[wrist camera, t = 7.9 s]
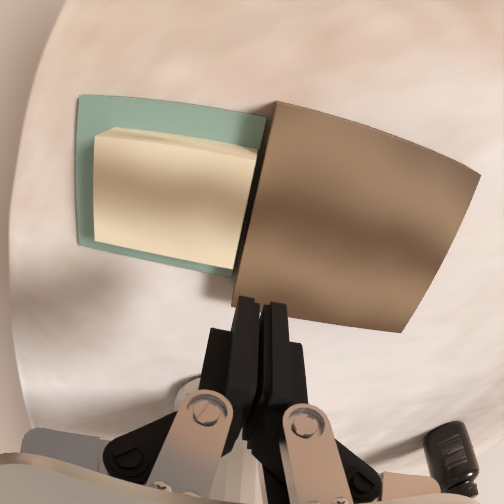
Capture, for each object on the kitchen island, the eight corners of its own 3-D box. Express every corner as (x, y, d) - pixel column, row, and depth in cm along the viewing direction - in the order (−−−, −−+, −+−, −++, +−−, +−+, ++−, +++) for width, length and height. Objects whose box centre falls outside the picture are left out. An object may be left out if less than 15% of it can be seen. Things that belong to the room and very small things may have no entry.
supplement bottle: (412, 445, 35) (427, 516, 25) (438, 422, 32) (459, 499, 22) (446, 440, 36) (463, 504, 25) (472, 417, 32) (495, 486, 22)
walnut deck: (393, 314, 22) (401, 333, 20) (233, 287, 21) (231, 306, 20) (464, 164, 16) (481, 175, 14) (276, 100, 15) (277, 103, 13)
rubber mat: (232, 274, 21) (231, 277, 20) (81, 241, 20) (78, 244, 20) (266, 117, 16) (266, 118, 15) (82, 94, 15) (79, 95, 15)
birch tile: (236, 246, 19) (232, 269, 17) (111, 221, 19) (94, 240, 17) (257, 148, 16) (256, 160, 14) (115, 127, 16) (94, 136, 14)
